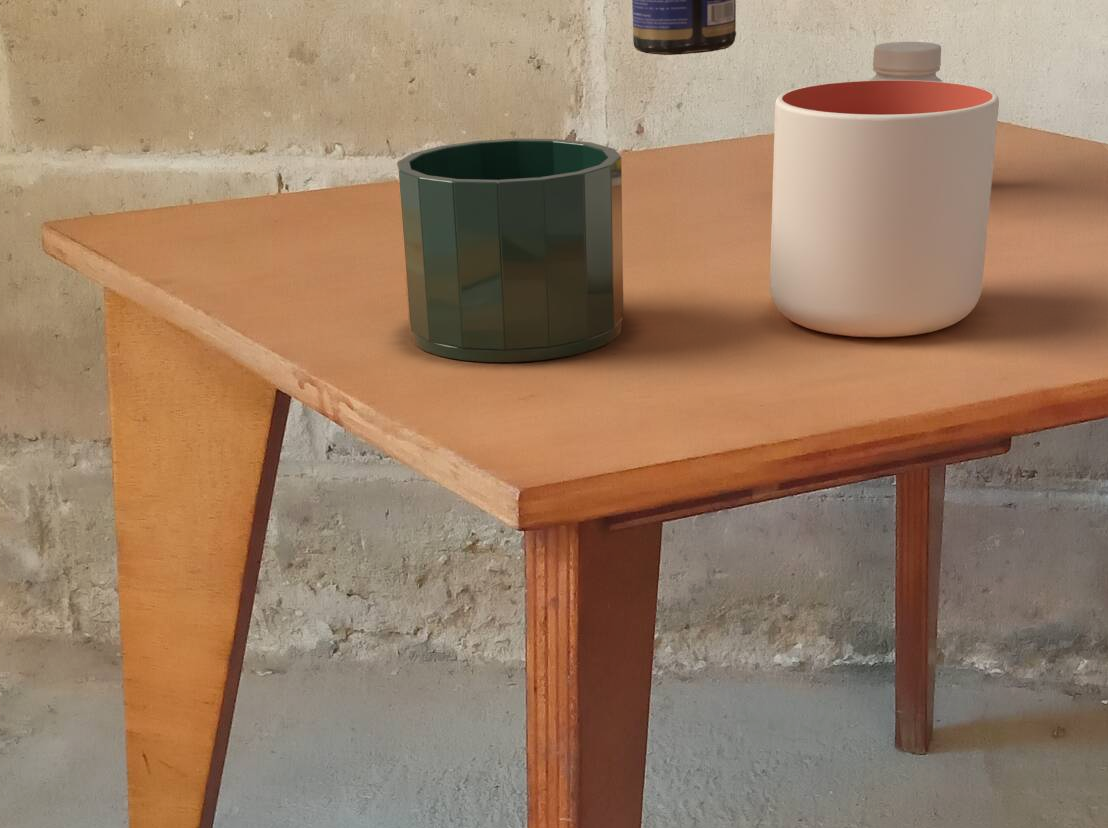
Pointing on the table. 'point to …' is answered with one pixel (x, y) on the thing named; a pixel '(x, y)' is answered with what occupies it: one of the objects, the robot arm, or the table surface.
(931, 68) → the supplement bottle
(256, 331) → the table surface
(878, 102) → the cup
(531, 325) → the green cup
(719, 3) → the pill bottle
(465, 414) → the table surface
